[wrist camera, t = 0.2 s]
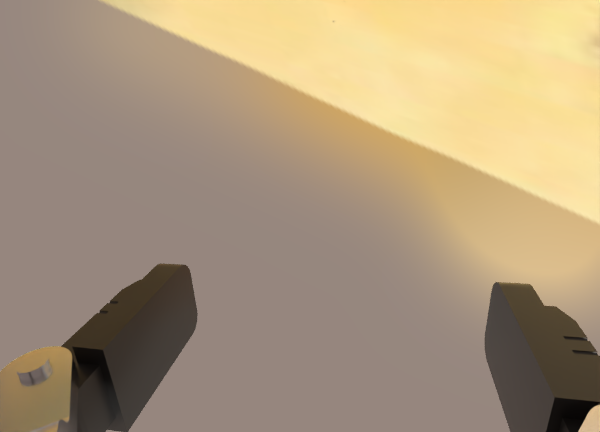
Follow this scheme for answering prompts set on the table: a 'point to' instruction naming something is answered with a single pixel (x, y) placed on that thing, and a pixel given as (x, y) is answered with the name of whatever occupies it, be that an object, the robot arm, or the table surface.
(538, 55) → the table surface
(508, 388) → the robot arm
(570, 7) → the table surface
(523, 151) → the table surface
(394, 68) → the table surface
